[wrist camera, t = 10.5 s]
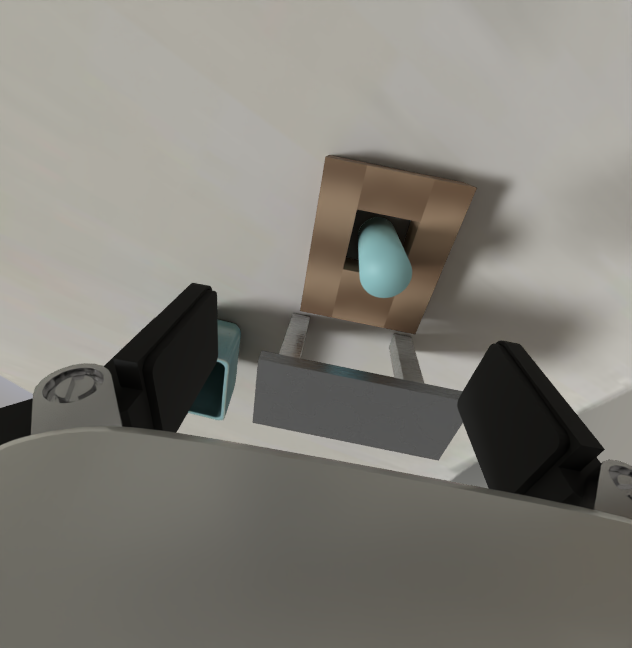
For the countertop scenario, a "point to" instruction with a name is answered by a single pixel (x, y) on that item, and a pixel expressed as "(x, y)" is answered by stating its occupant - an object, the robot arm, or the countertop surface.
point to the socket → (419, 245)
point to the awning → (355, 399)
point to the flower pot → (220, 375)
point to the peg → (382, 259)
